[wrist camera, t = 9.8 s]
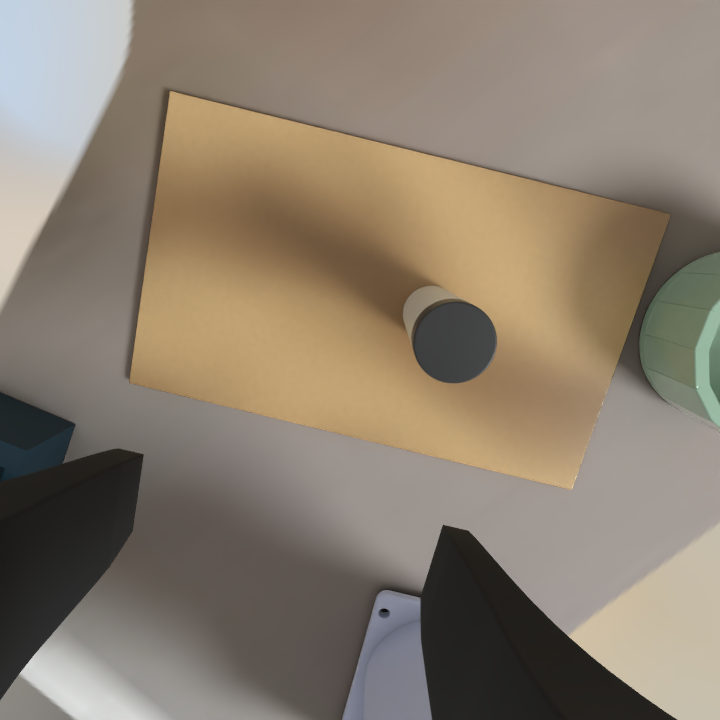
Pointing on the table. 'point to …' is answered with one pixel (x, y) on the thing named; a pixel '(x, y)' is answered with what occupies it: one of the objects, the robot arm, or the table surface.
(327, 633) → the table surface
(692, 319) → the pen pot
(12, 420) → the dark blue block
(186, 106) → the cork mat
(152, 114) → the table surface
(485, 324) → the marker
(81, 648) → the table surface
